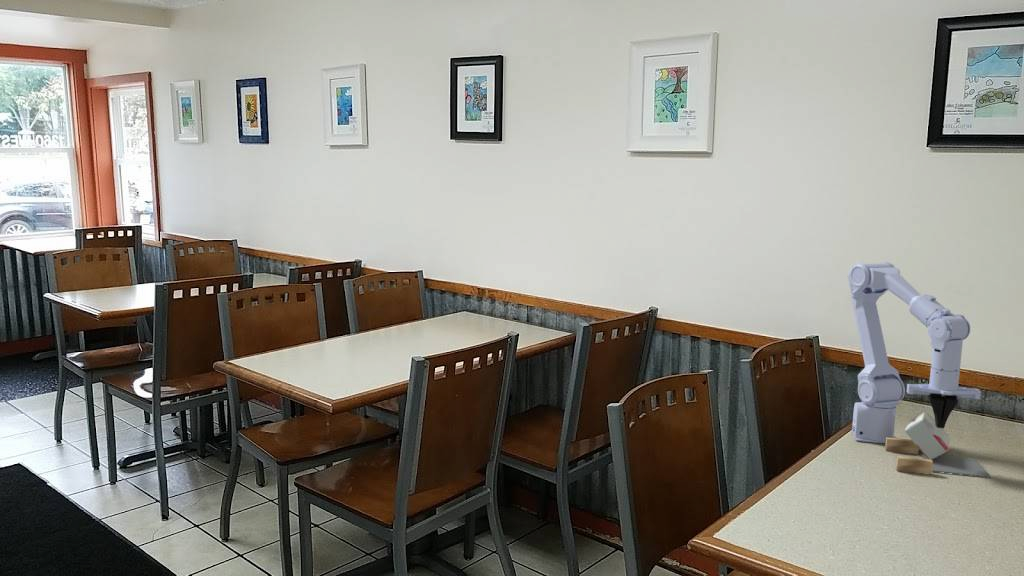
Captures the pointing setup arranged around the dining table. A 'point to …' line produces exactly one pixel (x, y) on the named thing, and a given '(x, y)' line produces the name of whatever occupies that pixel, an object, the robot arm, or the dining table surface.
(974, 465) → the rubber mat
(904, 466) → the rail bay
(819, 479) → the dining table surface
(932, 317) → the robot arm
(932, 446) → the ink box
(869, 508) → the dining table surface
